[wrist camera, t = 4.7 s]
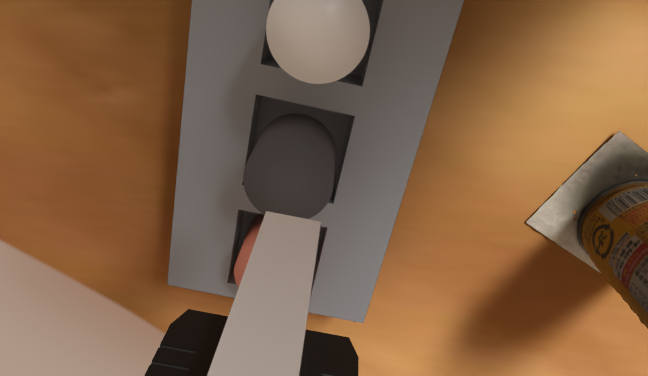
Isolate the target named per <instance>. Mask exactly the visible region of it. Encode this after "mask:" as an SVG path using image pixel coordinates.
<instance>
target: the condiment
mask: <svg viewBox="0 0 648 376" xmlns="http://www.w3.org/2000/svg"><path fill="white" fill-rule="evenodd" d="M636 174H637V176H635V175H636ZM574 210H576V214H575V215H574V214H573V211H574ZM575 216H576V217H577V219H576V220H574V217H575ZM526 223H527V224H529V225H530V226H532V227H533V228H535V229H536V230H537V231H539V232H541V233H542V234H544V235H545V236H546V237H548V238H549V239H550V240H552V241H554V242H555V243H557V244H558V245H559V246H561V247H562V248H564V249H565V250H567V251H568V252H570V253H571V254H573V255H574V256H576V257H577V258H579V259H580V260H582V261H583V262H585V263H586V264H588V265H589V266H591V267H592V268H593V269H595V270H596V271H598V272H599V273H601V274H602V276H603V277H604V278H605V279H606V280H607V282H608V283H609V284H610V285H611V286H612V287H613V288H614V289H615V290H616V291H617V292H618V293H619V294H620V295H621V297H622V298H623V300H624V301H625V302H627V303H628V305H629V306H630V308H631V309H632V310H633V312H634V313H636V314H637V316H638V317H639V319H640V321H641V323H643V324H644V325H645V326H646V327H647V328H648V153H647V152H646V151H644V150H643V149H642V148H640V147H639V146H638V145H637V144H635V143H634V142H633V141H632V140H630V139H629V138H628V137H627V136H625V135H624V134H623V133H621V132H620V131H619V132H618V133H617V134H615V135H614V136H613V137H612V138H611V139H610V140H609V141H608V142H607V143H605V144H604V145H603V146H602V147H601V148H600V149H599V150H598V151H597V152H596V153H595V154H594V155H593V156H592V157H591V158H590V159H589V160H588V161H587V162H586V163H584V164H583V165H582V166H581V167H580V168H579V169H578V170H577V171H576V172H575V173H574V174H573V175H572V176H571V177H570V178H569V179H568V180H567V181H566V182H565V183H564V184H562V185H561V186H560V187H559V189H558V190H557V191H556V192H555V193H554V194H553V196H551V198H550V199H549V200H547V201H546V202H545V203H544V204H543V205H542V206H541V207H540V208H539V210H538V211H537V212H536V213H535V214H534V215H533V216H532V217H531V218H530V219H529V220H528V221H527V222H526Z"/></svg>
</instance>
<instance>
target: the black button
mask: <svg viewBox="0 0 648 376" xmlns="http://www.w3.org/2000/svg"><path fill="white" fill-rule="evenodd" d="M334 167H335V144H334V140H333V138H332V135H331V134H330V132H329V130H328V129H327V128H326V127H325V126H324V125H323V124H322V123H321V122H320V121H318V120H317V119H315V118H313V117H311V116H308V115H304V114H294V113H293V114H286V115H283V116H280V117H278V118H276V119H274V120H273V121H272V122H270V123H269V124H268V125H267V126H266V128H265V129H264V130H263V132H262V134H261V136H260V138H259V140H258V142H257V144H256V146H255V148H254V149H253V151H252V153H251V155H250V157H249V159H248V161H247V163H246V166H245V169H244V173H243V184H244V189H245V192H246V195H247V197H248V199H249V200H250V202H251V203H252V204H253V206H254V207H255V208H256V209H257V210H258V211H260V212H261V213H262V214H264V215H265V213H266V211H268V212H273V213H279V214H284V215H289V216H294V217H300V218H305V219H309V218H311V217H313V216H315V215H316V214H318V213H319V212H320V211H322V210H323V208H324V207H325V206H326V205H327V203H328V202H329V200H330V198H331V195H332V192H333V184H334Z"/></svg>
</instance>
